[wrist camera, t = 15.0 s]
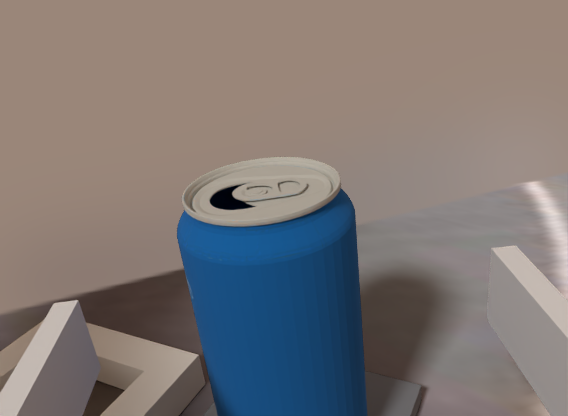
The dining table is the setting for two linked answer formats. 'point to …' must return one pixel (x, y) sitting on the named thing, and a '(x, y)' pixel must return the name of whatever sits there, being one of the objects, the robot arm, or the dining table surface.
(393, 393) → the coaster
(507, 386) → the dining table surface
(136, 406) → the can holder
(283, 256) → the beverage can
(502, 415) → the dining table surface
